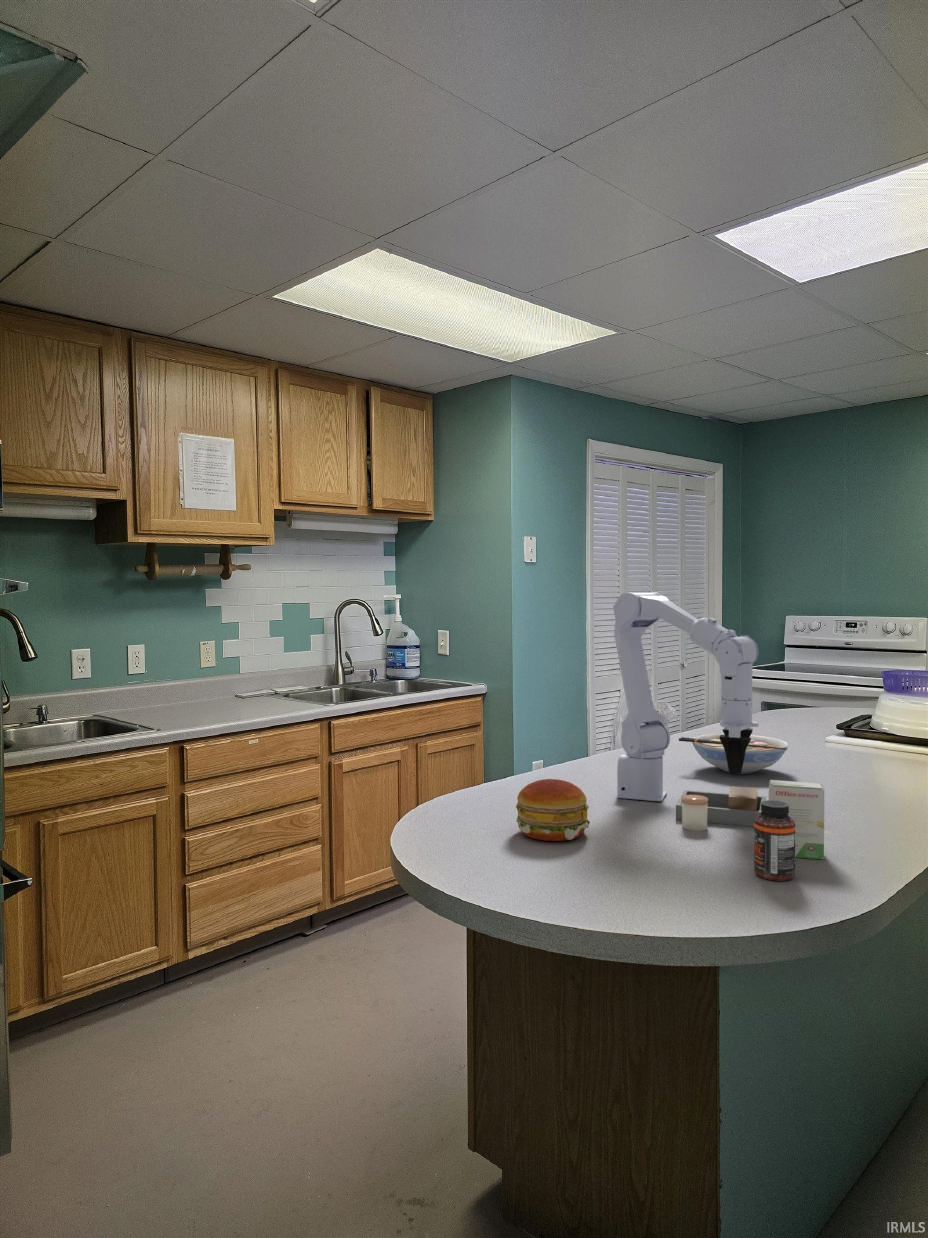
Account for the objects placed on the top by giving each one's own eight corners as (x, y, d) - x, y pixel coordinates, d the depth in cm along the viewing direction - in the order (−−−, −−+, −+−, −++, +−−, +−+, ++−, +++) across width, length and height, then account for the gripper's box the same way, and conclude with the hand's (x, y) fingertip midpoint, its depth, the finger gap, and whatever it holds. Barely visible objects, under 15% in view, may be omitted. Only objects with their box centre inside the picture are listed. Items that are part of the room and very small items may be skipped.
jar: (679, 829, 152) (679, 799, 151) (683, 822, 156) (683, 794, 156) (706, 832, 150) (706, 802, 150) (709, 825, 154) (709, 796, 154)
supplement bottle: (747, 870, 129) (747, 798, 128) (783, 868, 129) (784, 797, 129) (764, 883, 123) (764, 808, 123) (802, 882, 123) (802, 807, 123)
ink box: (768, 855, 136) (768, 785, 136) (767, 846, 141) (768, 778, 140) (824, 860, 133) (825, 788, 133) (821, 851, 138) (822, 781, 138)
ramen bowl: (801, 768, 204) (801, 735, 204) (782, 786, 185) (782, 750, 185) (701, 758, 217) (701, 727, 217) (674, 774, 198) (674, 740, 198)
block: (728, 822, 156) (728, 796, 156) (730, 811, 165) (730, 786, 164) (756, 825, 154) (756, 799, 154) (757, 813, 163) (757, 788, 163)
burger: (502, 829, 152) (502, 776, 152) (566, 821, 158) (566, 769, 157) (537, 850, 140) (537, 792, 140) (604, 840, 145) (604, 784, 145)
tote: (675, 819, 158) (675, 805, 158) (684, 803, 170) (684, 790, 170) (763, 827, 152) (763, 812, 152) (766, 810, 164) (766, 796, 164)
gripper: (757, 704, 150) (757, 778, 150) (759, 695, 163) (759, 763, 163) (717, 703, 152) (717, 775, 153) (722, 694, 166) (722, 760, 166)
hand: (736, 769), depth 158 cm, fingers open, 7 cm apart
